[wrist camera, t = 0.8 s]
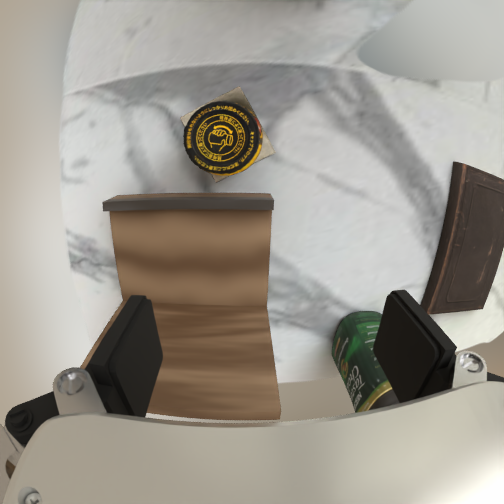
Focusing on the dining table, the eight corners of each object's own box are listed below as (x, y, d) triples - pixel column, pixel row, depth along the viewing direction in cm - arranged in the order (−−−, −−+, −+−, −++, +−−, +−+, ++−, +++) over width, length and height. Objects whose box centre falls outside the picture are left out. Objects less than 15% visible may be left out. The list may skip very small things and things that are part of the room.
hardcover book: (507, 182, 31) (516, 185, 28) (476, 303, 39) (482, 309, 37) (450, 160, 30) (460, 162, 28) (417, 307, 38) (424, 314, 36)
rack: (117, 195, 30) (16, 247, 13) (270, 193, 31) (302, 251, 14) (131, 298, 35) (73, 396, 18) (264, 303, 36) (279, 419, 19)
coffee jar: (338, 308, 36) (392, 414, 19) (387, 307, 37) (452, 397, 19) (324, 360, 40) (357, 461, 23) (369, 357, 40) (413, 447, 23)
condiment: (216, 182, 30) (199, 203, 19) (180, 118, 27) (143, 102, 16) (275, 152, 29) (294, 154, 18) (239, 86, 26) (237, 51, 15)
